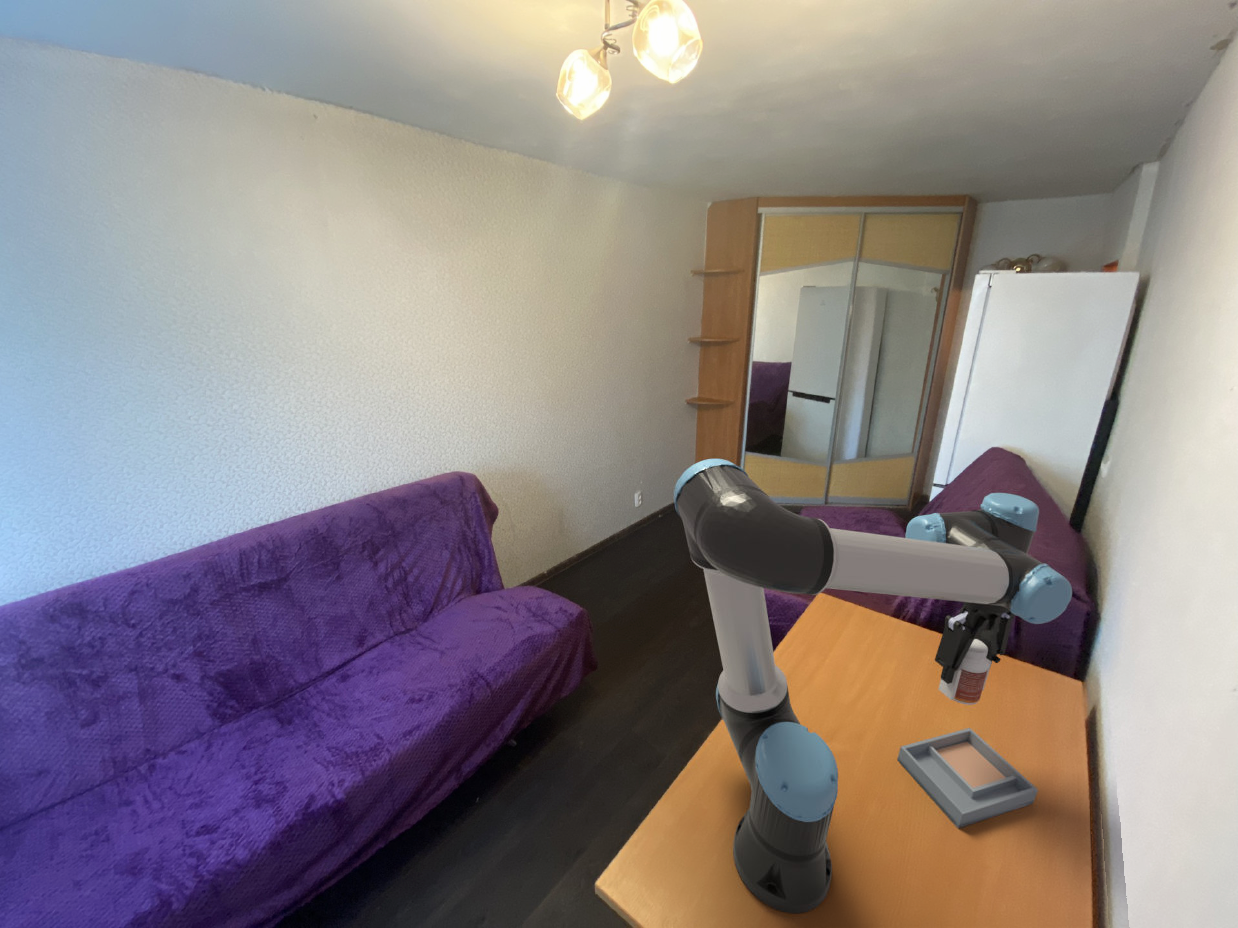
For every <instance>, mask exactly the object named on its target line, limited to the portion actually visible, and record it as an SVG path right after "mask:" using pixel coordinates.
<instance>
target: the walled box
mask: <svg viewBox="0 0 1238 928" xmlns="http://www.w3.org/2000/svg"><path fill="white" fill-rule="evenodd" d="M896 760H897V762H898V763H899V764H900V765H901V766H902V767H903V768H904V769H905V771H906V772H907V774H909V775H910V777H912V779H914V781H915V782H916V783H917V784H918V785H919V786H920V787H921V789H922V790H923V791H924V792H925V793H926V794H927V796H929V798H930V799H932V801H933V802H934V803H935V805H936V806H937V807H938V808H939V809H940V810H941V811H942V813H944V814H945V816H946V817H947V818H948V819H949V820H950V821H951V822H952V824H953V825H954V826H955V827H956V828H957V829H960V828H964V827H967V826H969V825H970V826H971V825H973V824H976V823H978V822H981V821H984V820H987V819H991V818H993V817H997V816H1000V815H1003V814H1007V813H1009V812H1011V811H1015V810H1017V809H1018V810H1019V809H1021V808H1024V807H1027V806H1031V805H1033V804H1034V801H1035V798H1036V797H1037V794H1038V792H1039V789H1038V788H1037V787H1036V786H1035V785H1034V784H1033V783H1031V781H1029V780H1028V779H1027V778H1026V777H1025V776H1024V775H1022V773H1020V772H1019V770H1017V769H1016V768H1015V767H1014V766H1013V765H1011V764H1010V763H1009V762H1008V761H1007V760H1006V759H1005V758H1004V757H1003V756H1002V755H1000V753H999V752H997V750H995V749H994V748H993V747H992V746H990V745H989V744H988V742H986V741H985V740H984V739H983V738H982V737H980V735H978V734H977V733H976V732H975V731H974V730H973V729H972V728H970V727H968V728H963V729H960V730H957V731H956V730H955V731H953V732H950V733H945V734H943V735H938V736H935V737H931V738H927V739H924V740H920V741H916V742H911V743H909V744H905V745H902V746H900V747H899V751H898V755H897V758H896Z"/></svg>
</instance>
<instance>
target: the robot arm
mask: <svg viewBox="0 0 1238 928" xmlns="http://www.w3.org/2000/svg"><path fill="white" fill-rule="evenodd" d="M673 502H674V508H675V511H676V513H677V514H678V516H679V517H680V518H681V521H682V524H683V527H684V533H685V537H686V542H687V546H688V552H689V554H690V555H689V556H690V559H691V560H692V562H693V563H694V565H696V566H697V567H699V568H700V569H703V574H704V578H705V579H704V581H705V585H706V591H707V594H708V600H709V604H710V609H711V614H712V619H713V625H714V629H715V634H716V639H717V644H718V649H719V654H720V659H721V665H722V668H723V670H722V672H721V673H720V675H719V678H718V682H717V686H716V690H715V698H716V703H717V704H716V705H717V710H718V712H719V715H720V717H721V719H722V720H723V722H724V724H725V727H726V730H727V731H728V734H729V736H730V739H731V741H732V743H733V745H734V746H733V747H734V749H735V750H736V753H737V756H738V757H739V760H740V763H741V765H742V767H743V770H744V772H745V775H746V778H747V779H748V783H749V785H750V790H751V796H750V801H749V808H748V810H747V811H746V812H745V813H744V815H743V816H742V818H741V819H740V820H739V822H738V824H737V826H736V829H735V833H734V836H733V847H732V852H733V853H732V854H733V861H734V865H735V867H736V870H737V873H738V875H739V877H740V879H741V881H742V882H743V883H744V885H745V887H746V888H748V890H749V891H750V892H751V893H752V895H754V896H755V898H757V899H758V900H760V901H761V902H762V903H764V904H765V905H766V906H769V907H771V908H772V909H775V910H777V911H779V912H784V913H789V914H802V913H807V912H810V911H812V910H814V909H815V908H817V907H818V906H819V905H820V904H821V903H822V902H823V901H824V900H825V898H826V897H827V895H828V892H829V889H830V884H831V881H832V880H831V879H832V872H833V871H832V870H833V866H832V865H833V863H832V859H831V854H830V850H829V847H828V846H829V845H828V841H827V837H828V832H829V828H830V825H831V820H832V816H833V811H834V808H835V804H836V800H837V798H838V797H837V796H838V788H839V785H838V783H839V782H838V781H839V770H838V764H837V761H836V758H835V756H834V754H833V752H832V750H831V748H830V746H829V745H828V744H827V743H826V741H824V739H823V738H822V737H821V736H820V735H819V734H817V733H816V732H815V731H813V732H810V731H809V728H808V727H806V726H805V725H803V724H801V723H800V721H799V719H798V717H797V716H796V714H795V712H794V710H793V707H792V704H791V700H790V699H791V698H790V693H789V686H788V685H789V684H788V681H787V677H786V675H785V673H784V672H783V671H782V669H781V668H780V667H779V666H778V665H777V664H776V663H775V655H774V647H773V642H772V636H771V635H772V634H771V628H770V622H769V617H768V608H767V602H766V595H765V589H766V590H772V591H776V592H777V591H778V592H783V593H790V594H794V595H795V594H797V595H809V596H815V595H819V594H821V593H822V592H823V591H825V590H826V589H834V590H843V591H852V592H862V593H871V594H873V593H874V594H883V595H891V596H900V597H901V596H902V597H912V598H922V599H931V600H933V599H934V600H940V601H941V600H943V601H954V602H960V603H963V605H962V607H961V608H960V610H959V613H958V614H957V615H956V616H951V614H948V615H946V616H945V618H944V629H943V632H942V636H941V638H940V642H939V644H938V648H937V650H936V654H935V657H934V661H935V663H937V664H938V665H940V666H941V667H942V670H941V673H940V674H941V675H940V682H939V686H938V691H940V693H942V694H943V695H945V697H946V698H948V699H949V700H950V701H954V700H953V699H954V698H955V694H956V690H957V687H958V683H959V679H960V675H961V672H962V670H961V669H960V668H959V667H960V665H961V663H962V661H963V659H964V657H965V655H966V654H967V652H968V650H969V648H970V646H971V644H972V642H973V641H974V639H978V640H980V641H981V642H983V643H984V644H985V645H986V646H987V648H988V652H987V656H986V658H987V660H988V662H989V667H988V671H987V675H986V679H985V682H984V686H983V690H982V692H983V691H984V690H985V686H986V684H987V683H986V682H987V679H988V676H989V673H990V670H991V668H992V667H991V666H992V663H993V662H994V663H995V664H998V663H1000V661H1001V658H1000V657H999V656H1003V655H1005V652H1006V650H1007V645H1008V640H1009V637H1010V632H1011V628H1012V623H1013V620H1014V618H1015V617H1016V616H1017V617H1019V618H1020V619H1022V620H1024V621H1026V622H1028V623H1030V624H1034V625H1039V624H1040V625H1041V624H1045V623H1049V622H1051V621H1053V620H1055V619H1057V618H1058V617H1059V616H1061V615H1062V613H1064V612H1065V611H1066V609H1067V607H1068V605H1069V604H1070V602H1071V600H1072V598H1073V597H1072V596H1073V589H1072V585H1071V583H1070V582H1069V581H1070V580H1068V579H1067V578H1066V577H1065V576H1063V575H1061V574H1060V573H1059V572H1058V571H1056V570H1055V569H1053V568H1052V567H1051V566H1050V565H1049V564H1047V563H1043V562H1042V561H1040V560H1038V559H1036V558H1035V557H1034V556H1032V555H1030V554H1029V550H1030V548H1031V545H1032V542H1033V539H1034V537H1035V536H1034V535H1035V533H1037V529H1038V528H1037V525H1038V521H1039V514H1040V509H1039V506H1038V505H1037V504H1036V503H1035V502H1033V501H1032V500H1030V499H1028V498H1025V497H1023V496H1021V495H1017V494H1013V493H1005V492H994V493H993V492H991V493H989V494H988V495H985V496H984V497H983V499H982V503H981V504H980V509H975V510H967V511H954V512H934V513H931V514H924V515H918V516H915V517H914V518H912V519H911V520H909V522H908V524H907V526H906V532H905V535H904V536H905V537H900V536H894V535H893V536H892V535H886V534H885V535H884V534H877V533H869V532H862V531H855V530H849V529H848V530H847V529H839V528H838V529H837V528H830V526H829V525H828V524H827V523H826V522H825V521H824V520H822V519H821V518H817V517H808V516H805V515H804V516H803V515H799V514H797V513H795V512H792V511H790V510H788V509H786V508H784V507H783V506H781V504H778V503H777V502H776V501H774V500H773V499H772V498H771V497H770V496H768V495H767V493H766V492H764V491H763V490H762V488H760V486H759V485H757V484H756V483H755V482H754V481H753V480H752V479H751V478H750V477H749V474H748V473H747V472H746V470H745V469H743V468H741V467H740V466H738V465H736V464H735V463H733V462H731V461H730V460H726V459H722V458H708V459H704V460H701V461H698V462H696V463H694V464H692V465H691V466H690V467H688V468H687V469H686V470H685V471H683V473H682V475H680V477H679V478H678V480H677V482H676V484H675V487H674V489H673ZM998 655H999V656H998Z"/></svg>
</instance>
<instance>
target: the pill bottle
mask: <svg viewBox="0 0 1238 928" xmlns="http://www.w3.org/2000/svg"><path fill="white" fill-rule="evenodd" d="M987 652H988V648H987V646H986V645H985V644H984V643H983V642H981V641H980V640H979V638H978V639H974V641H973V642H972V644H971V646H970V648H969V650H968V652H967V654H966V655H965V657H964V659H963V661H962V663H961V665H960V667H959V668H960V669H961V670H962V672H961V675H960V679H959V683H958V687H957V690H956V694H955V698H954V699H953V700H952V701H954V702H957V703H958V704H962V705H966V706H967V705H969V706H970V705H971V706H972V705H976V704H977V703H978V702H979V701H980V699H981V696H982V692H983V691H984V690H983V686H984V682H985V679H986V675H987V671H988V667H989V662H988V660H987V658H986V656H987ZM982 690H983V691H982Z"/></svg>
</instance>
